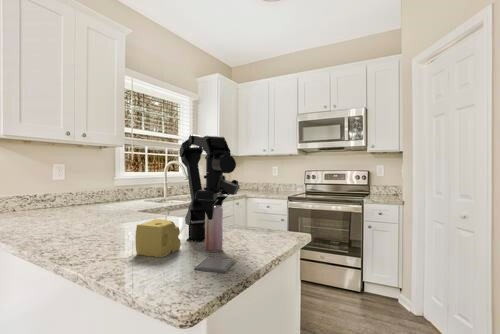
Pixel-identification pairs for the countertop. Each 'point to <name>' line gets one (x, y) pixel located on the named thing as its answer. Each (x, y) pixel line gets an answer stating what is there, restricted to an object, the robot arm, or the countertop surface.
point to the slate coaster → (215, 265)
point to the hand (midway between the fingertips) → (214, 217)
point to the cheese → (157, 238)
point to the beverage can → (214, 230)
